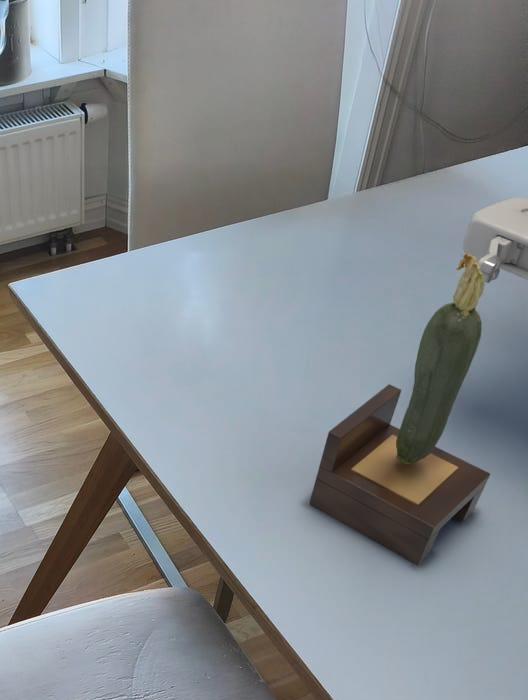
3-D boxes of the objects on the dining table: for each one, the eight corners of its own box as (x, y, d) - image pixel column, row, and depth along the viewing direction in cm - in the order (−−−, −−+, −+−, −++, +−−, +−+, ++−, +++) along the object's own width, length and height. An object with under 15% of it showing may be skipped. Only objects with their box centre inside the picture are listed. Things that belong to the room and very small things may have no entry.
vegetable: (434, 480, 81) (519, 273, 65) (388, 484, 81) (462, 277, 65) (418, 449, 83) (495, 244, 68) (373, 453, 83) (440, 248, 68)
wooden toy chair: (472, 513, 85) (507, 438, 78) (417, 567, 81) (448, 493, 74) (365, 457, 91) (389, 383, 84) (308, 505, 87) (328, 431, 80)
